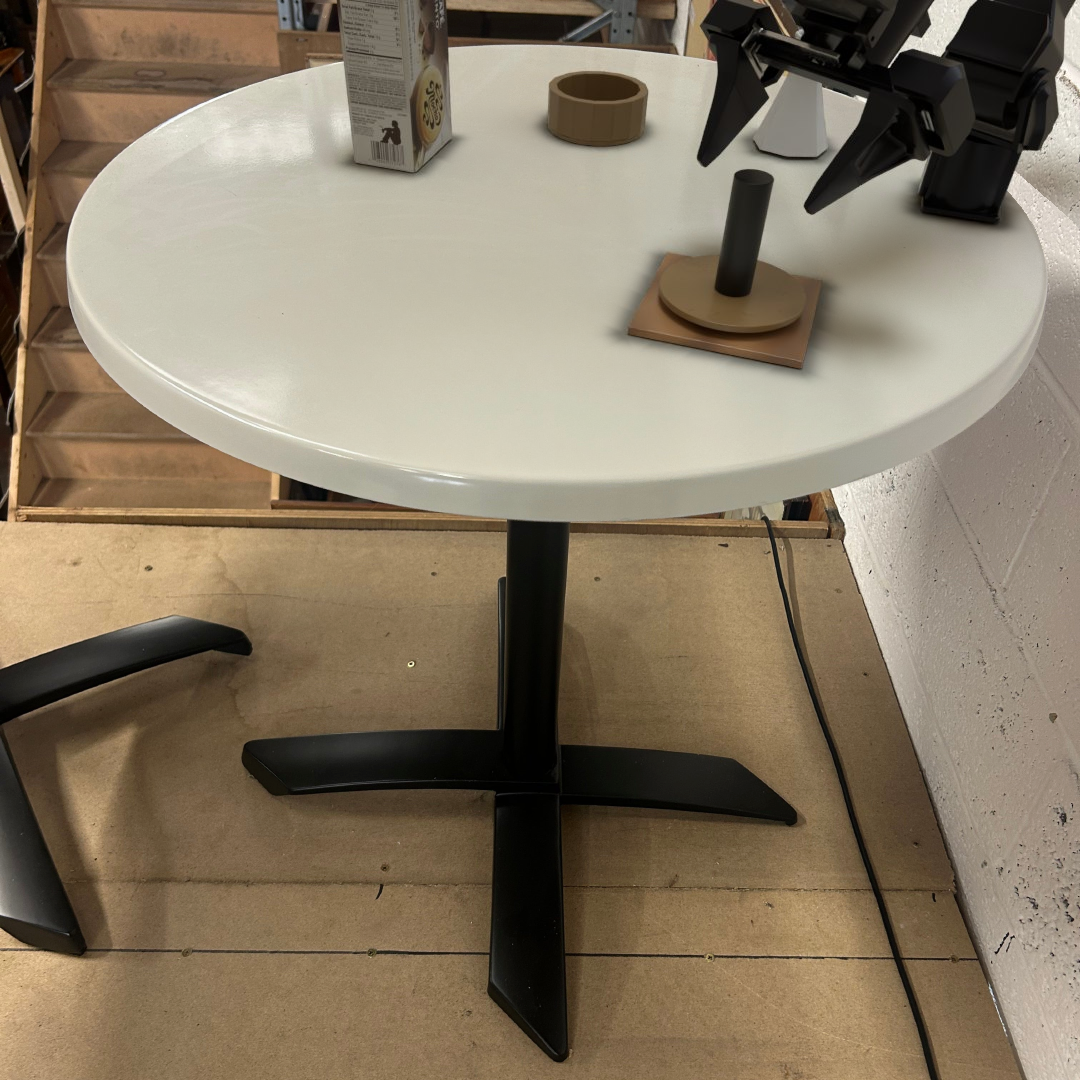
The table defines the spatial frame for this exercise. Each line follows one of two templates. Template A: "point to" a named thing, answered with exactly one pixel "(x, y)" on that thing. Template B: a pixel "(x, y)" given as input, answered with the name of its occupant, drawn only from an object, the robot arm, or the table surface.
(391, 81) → the coffee box
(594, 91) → the tin
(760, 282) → the tin lid
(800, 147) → the flask
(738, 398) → the table surface
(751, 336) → the cork mat
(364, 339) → the table surface
